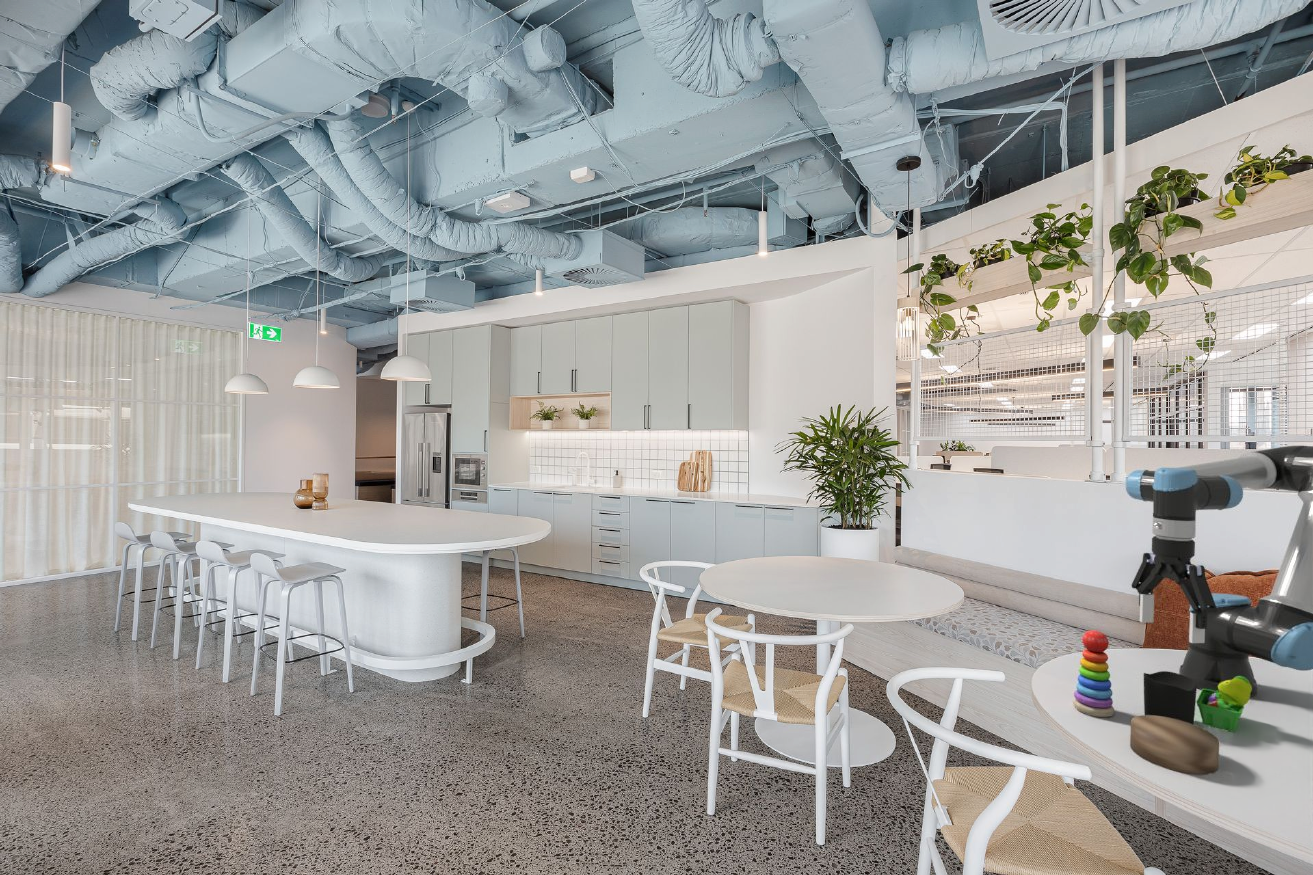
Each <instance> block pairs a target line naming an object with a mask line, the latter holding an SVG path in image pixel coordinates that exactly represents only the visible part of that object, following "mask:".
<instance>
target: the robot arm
mask: <svg viewBox="0 0 1313 875" xmlns="http://www.w3.org/2000/svg"><path fill="white" fill-rule="evenodd" d="M1247 488H1248V489H1251V490H1256V491H1258V490H1265V489H1266V490H1267V489H1268V490H1269V489H1270V490H1280V491H1281V490H1282V491H1289V492H1297V497H1298V498H1299V499H1300V500H1301V501H1302V503H1303V504H1302V506H1301V509H1300V512H1299V513H1298V514H1299V515H1298V517H1297V521H1296V523H1295V525H1294V529H1293V531H1292V535H1291V538H1290V540H1289V543H1288V545H1287V548H1286V551H1285V553H1284V556H1283V559H1282V561H1281V562H1282V563H1281V565H1280V567H1279V571H1278V572H1277V576H1276V579H1275V580H1274V584H1273V587H1272V590H1271V593H1269V595H1267V596H1264V597H1260V598H1259V600H1258V603H1257V605H1256V606H1252V601H1251V598H1250V597H1248V596H1245V595H1240V594H1239V595H1238V594H1229V593H1218V592H1217V593H1215V592H1214V593H1213V592H1211V589H1210V586H1209V584H1208V581H1207V577H1206V571H1205V570H1206V568H1205V566H1204V565H1202V564H1201V565H1197V564H1195V565H1193V564H1192V563H1191V562H1192V561H1191V559H1192V558H1194V557H1195V555H1196V553H1195V552H1196V542H1195V541H1194V540H1193V539H1194V538H1196V533H1197V532H1196V525H1197V524H1196V523H1197V522H1196V520H1197V519H1196V518H1197V517H1196V515H1197V511H1199V510H1200V511H1202V510H1203V511H1206V510H1207V511H1208V510H1209V511H1213V510H1218V511H1222V510H1227V509H1228V510H1229V509H1233V508H1235V507H1237V506H1238V505H1240V503H1241V502H1242V500H1243V498H1244V497H1243V496H1244V490H1243V489H1247ZM1125 491H1126V493H1127V495H1128V496H1130V498H1132V499H1134V500H1138V501H1143V502H1152V503H1153V508H1152V510H1153V512H1152V530H1151V531H1152V534H1153V535H1154V536H1153V537H1152V538H1151V552H1143V554H1142V561H1141V564H1140V565H1139V568H1138V570H1137V571H1136V575H1135V576H1134V579H1133V580H1132V583H1131V588H1132V589H1135V590H1137V593H1138V605H1139V622H1140V623H1141V624H1142V623H1144V624H1145V623H1154V617H1155V616H1154V614H1155V611H1154V610H1155V603H1154V602H1155V594H1154V590H1155V589H1156V588H1157V587H1158V586H1159V584H1160V583H1161V582H1162V581H1163V580H1164V579H1169V580H1171V581H1174V583H1176V584H1177V585H1179V587H1180V589H1181V591H1182V592H1183V594H1184V596H1185V597H1186V599H1187V601H1188V603H1189V609H1188V611H1189V612H1188V613H1189V615H1188V616H1189V617H1188V649H1187V652H1186V654H1185V657H1184V659H1183V662H1182V664H1181V665H1180V666H1179V670H1178V671H1179V672H1178V674H1181V675H1184V676H1187V677H1189V678H1191V679H1193V680H1194V681H1196V683H1197V689H1200V690H1202V689H1209V690H1214V691H1217V690H1218V691H1219V689H1218V685H1219V684H1220V683H1221V682H1224V681H1227V680H1232V679H1234V677H1236V676H1242V677H1245V678H1247V679H1248V680H1249V681H1250V682H1249V683H1250V685H1251V686H1252V691H1251V693H1250V697H1253V696H1255V695H1257V694H1258V682H1257V680H1256V679H1255V675H1254V672H1253V669H1252V666H1251V664H1250V659H1249V656H1252V657H1255V658H1258V659H1261V660H1264V661H1266V662H1270V663H1273V664H1275V665H1277V666H1279V667H1283V668H1289V669H1293V670H1296V671H1307V672H1308V671H1311V670H1313V445H1289V446H1288V445H1286V446H1280V447H1279V446H1278V447H1273V448H1266V449H1263V450H1256V451H1250V452H1246V453H1243V454H1241V455H1240V456H1239V457H1237V458H1230V459H1226V460H1218V461H1217V460H1216V461H1212V462H1207V463H1200V464H1199V463H1197V464H1194V465H1193V464H1192V465H1188V466H1187V465H1186V466H1180V467H1159V468H1156V469H1155V470H1149V469H1143V470H1142V469H1136V470H1133V471H1131V473H1129V474H1128V476H1126V479H1125Z"/></svg>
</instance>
